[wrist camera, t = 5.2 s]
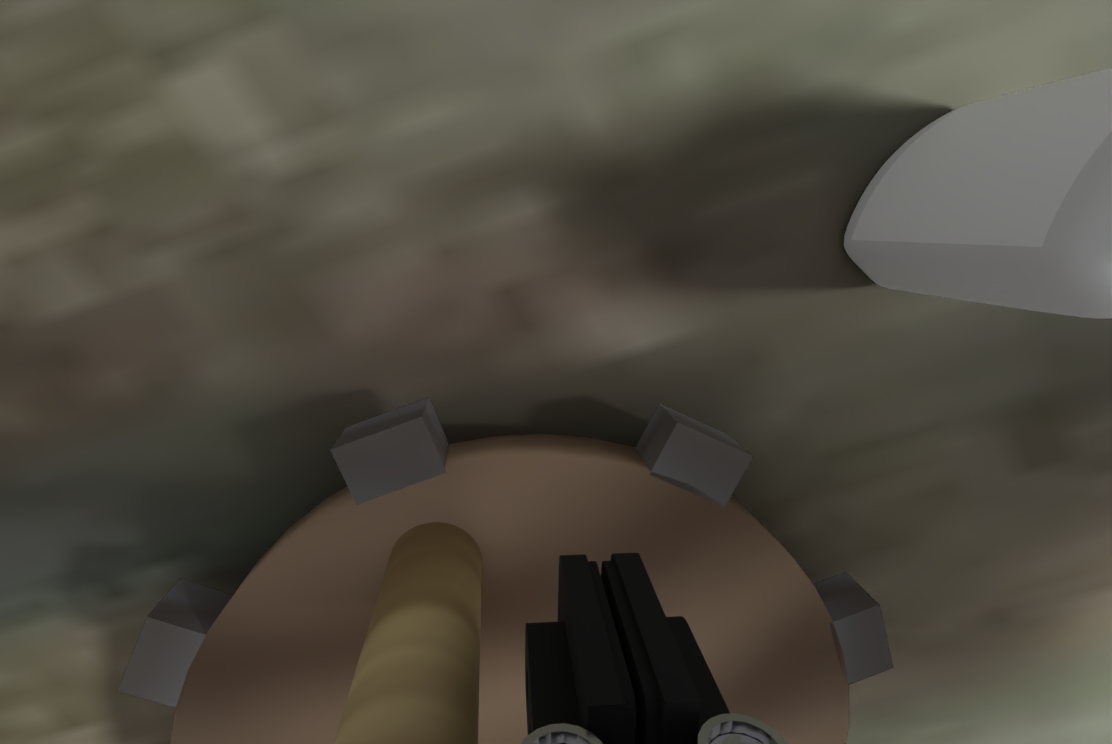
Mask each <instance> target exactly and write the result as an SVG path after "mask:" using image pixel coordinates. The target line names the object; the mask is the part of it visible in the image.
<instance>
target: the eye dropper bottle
mask: <svg viewBox="0 0 1112 744" xmlns="http://www.w3.org/2000/svg"><path fill="white" fill-rule="evenodd" d="M844 248H845V250H846V252H847V254H848V256H849V257H850V258H851V259H852V260H853V261H854V262H855V264H856V265H857V266H858V267H859V268H860V269H861V270H862V271H863V272H864V273H865V274H866V275H867V276H868V277H869V278H870V279H872V280H873V281H874V282H875V283H876V284H877V285H880V286H882V287H884V288H887V289H893V290H899V291H906V292H912V293H918V294H925V295H931V296H938V297H944V298H951V299H957V300H964V301H970V302H977V303H984V304H990V305H997V306H1004V307H1010V308H1017V309H1024V310H1031V311H1037V312H1044V313H1052V314H1060V315H1068V316H1076V317H1084V318H1101V319H1108V318H1112V68H1109V69H1105V70H1101V71H1097V72H1093V73H1089V74H1085V75H1081V76H1077V77H1073V78H1069V79H1065V80H1061V81H1057V82H1053V83H1049V84H1045V85H1041V86H1037V87H1033V88H1030V89H1026V90H1022V91H1018V92H1014V93H1010V94H1006V95H1002V96H998V97H994V98H990V99H986V100H982V101H979V102H975V103H971V104H967V105H964V106H962V107H960V108H957V109H955V110H953V111H951V112H949V113H947V114H945V115H943V116H942V117H940V118H938V119H937V120H935V121H933V122H932V123H930V124H929V125H927V126H926V127H924V128H923V129H921V130H920V131H919V132H917V133H916V134H915V135H913V136H912V137H911V138H910V139H908V140H907V141H906V142H905V143H904V144H903V145H902V146H901V147H900V148H899V149H898V150H897V151H895V152H894V153H893V155H892V156H891V157H890V158H889V159H888V160H887V161H886V162H885V163H884V165H883V166H882V167H881V168H880V169H879V171H878V172H877V173H876V175H875V176H874V177H873V179H872V180H871V182H870V183H869V185H868V186H867V188H866V189H865V191H864V193H863V194H862V196H861V198H860V200H859V202H858V204H857V206H856V208H855V210H854V212H853V214H852V216H851V219H850V221H849V223H848V226H847V229H846V232H845V235H844Z"/></svg>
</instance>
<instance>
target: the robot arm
mask: <svg viewBox="0 0 1112 744" xmlns="http://www.w3.org/2000/svg"><path fill="white" fill-rule="evenodd" d="M525 687H526V711H527V730H528V736H526V738H525V739H524V740H523V742H522V743H521V744H788V743H787V742H786V741H785V740H784V739H783V737H782V736H781V735H780V734H779V733H778V732H777V731H776V730H774V729H773V728H772V727H770V726H769V725H767V724H766V723H764V722H762V721H760V720H758V719H755V718H753V717H751V716H747V715H742V714H737V713H730V712H729V709H728V707H727V705H726V703H725V701H724V699H723V697H722V695H721V693H720V690H719V688H718V686H717V684H716V682H715V680H714V678H713V676H712V673H711V671H710V669H709V667H708V665H707V663H706V661H705V659H704V657H703V654H702V652H701V650H700V648H699V646H698V644H697V642H696V640H695V637H694V635H693V633H692V631H691V629H690V627H689V625H688V623H687V621H686V620H685V618H684V617H682V616H675V617H666V616H665V613H664V611H663V609H662V606H661V604H660V602H659V599H658V597H657V595H656V592H655V590H654V588H653V585H652V583H651V580H650V578H649V576H648V573H647V571H646V569H645V566H644V564H643V562H642V559H641V557H640V555H639V553H612V555H611V559H610V561H602V566H601V575H600V572H599V568H598V565H597V562H596V561H588V559H587V556H586V555H585V554H581V555H560V557H559V580H558V622H538V623H526V627H525Z"/></svg>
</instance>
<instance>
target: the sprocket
mask: <svg viewBox="0 0 1112 744" xmlns="http://www.w3.org/2000/svg"><path fill="white" fill-rule="evenodd" d="M330 451H331V453H332V455H333V457H334V459H335V462H336V464H337V466H338V468H339V470H340V472H341V474H342V476H343V478H344V480H345V482H346V484H347V486H346V487H344V488H342V489H341V490H339V491H337V492H336V493H334V494H332V495H331V496H329V497H327V498H326V499H324V500H323V501H322V502H320V503H319V504H318V505H317V506H315V507H314V508H313V509H312V510H310V511H309V512H308V513H307V514H305V515H304V516H303V517H301V518H300V519H299V520H298V521H296V522H295V523H294V524H293V525H291V526H290V527H289V528H288V529H287V530H286V531H285V532H284V533H283V534H282V535H281V536H280V537H279V538H278V539H277V541H276V542H275V543H274V544H273V545H272V546H271V547H270V548H269V549H268V550H267V551H266V552H265V553H264V554H263V555H262V556H261V557H260V558H259V560H258V561H257V562H256V564H255V565H254V567H253V568H252V569H251V571H250V572H249V573H248V575H247V576H246V578H245V579H244V580H243V582H242V583H241V585H240V586H239V587H238V589H237V590H236V592H235V593H234V594H233V595H231V594H228V593H225V592H222V591H219V590H216V589H213V588H210V587H207V586H204V585H200V584H197V583H194V582H191V581H188V580H185V579H182V578H180V579H179V581H178V582H177V583H176V584H175V585H174V586H173V587H172V589H171V590H170V591H169V592H168V593H167V594H166V595H165V597H164V598H163V599H162V600H161V601H160V602H159V603H158V605H157V606H156V607H155V608H154V609H153V610H152V611H151V613H150V614H149V615H148V616H147V617H146V620H145V623H144V625H143V628H142V630H141V633H140V635H139V638H138V640H137V643H136V646H135V648H134V651H133V653H132V656H131V658H130V661H129V663H128V666H127V669H126V671H125V674H124V676H123V679H122V681H121V684H120V686H119V689H118V692H121V693H125V694H128V695H132V696H136V697H139V698H143V699H146V700H150V701H153V702H157V703H161V704H164V705H168V706H171V707H175V708H176V709H175V713H174V720H173V727H172V733H171V740H170V744H521V743H522V742H523V740H524V739H525V738H526V736H528V730H527V711H526V687H525V627H526V623H538V622H558V580H559V557H560V555H581V554H585V555H586V556H587V559H588V561H596V562H597V565H598V568H599V572H600V575H601V566H602V561H610V559H611V555H612V553H639V555H640V557H641V559H642V562H643V564H644V566H645V569H646V571H647V573H648V576H649V578H650V580H651V583H652V585H653V588H654V590H655V592H656V595H657V597H658V599H659V602H660V604H661V606H662V609H663V611H664V613H665V616H666V617H675V616H682V617H684V618H685V620H686V621H687V623H688V625H689V627H690V629H691V631H692V633H693V635H694V637H695V640H696V642H697V644H698V646H699V648H700V650H701V652H702V654H703V657H704V659H705V661H706V663H707V665H708V667H709V669H710V671H711V673H712V676H713V678H714V680H715V682H716V684H717V686H718V688H719V690H720V693H721V695H722V697H723V699H724V701H725V703H726V705H727V707H728V709H729V712H730V713H737V714H742V715H747V716H751V717H753V718H755V719H758V720H760V721H762V722H764V723H766V724H767V725H769V726H770V727H772V728H773V729H774V730H776V731H777V732H778V733H779V734H780V735H781V736H782V737H783V739H784V740H785V741H786V742H787V743H788V744H846V742H847V735H848V728H849V684H852V683H854V682H857V681H859V680H862V679H865V678H867V677H870V676H873V675H875V674H878V673H880V672H883V671H886V670H888V669H891V668H893V664H892V659H891V655H890V650H889V646H888V641H887V637H886V632H885V628H884V623H883V619H882V614H881V610H880V605H879V604H878V603H877V602H876V601H875V600H874V599H873V598H872V597H871V596H870V595H869V594H868V593H867V592H866V591H865V590H864V589H863V588H862V587H861V586H860V585H859V584H858V583H857V582H855V581H854V580H853V579H852V578H851V577H850V576H849V575H848V574H847V573H846V572H845V573H842V574H839V575H837V576H834V577H831V578H829V579H826V580H823V581H821V582H818V583H815V584H812V582H811V581H810V580H809V578H808V577H807V576H806V574H805V573H804V572H803V570H802V569H801V568H800V566H799V565H798V564H797V562H796V561H795V560H794V558H793V557H792V556H791V555H790V554H789V553H788V552H787V550H786V549H785V548H784V547H783V546H782V545H781V544H780V543H779V542H778V541H777V540H776V539H775V537H774V536H773V535H772V534H771V533H770V532H769V531H768V530H767V529H766V528H765V527H764V526H763V525H762V524H761V523H760V522H759V521H758V520H757V519H756V518H755V517H754V516H753V515H752V514H751V513H750V512H749V511H748V510H747V509H746V508H745V507H744V506H743V505H742V504H741V503H740V502H739V501H737V500H736V499H734V498H733V497H732V496H731V495H732V494H733V492H734V490H735V488H736V487H737V485H738V483H739V481H740V480H741V478H742V476H743V474H744V473H745V471H746V469H747V467H748V466H749V464H750V462H751V460H752V459H753V457H754V456H752V455H751V454H750V453H749V452H748V451H747V450H745V449H744V448H743V447H742V446H741V445H740V444H739V443H737V442H736V441H735V440H734V439H733V438H732V437H730V436H729V435H728V434H726V433H723V432H721V431H719V430H717V429H715V428H712V427H710V426H708V425H706V424H704V423H701V422H699V421H697V420H695V419H693V418H691V417H688V416H686V415H684V414H682V413H680V412H677V411H675V410H673V409H671V408H669V407H666V406H664V405H662V404H660V403H659V405H658V406H657V408H656V410H655V412H654V414H653V416H652V418H651V420H650V421H649V423H648V425H647V427H646V429H645V431H644V433H643V435H642V436H641V438H640V440H639V442H638V444H637V446H636V448H635V447H632V446H628V445H623V444H618V443H614V442H609V441H604V440H599V439H595V438H590V437H579V436H567V435H555V434H525V435H501V436H493V437H487V438H481V439H475V440H469V441H463V442H457V443H452V444H449V443H448V441H447V438H446V436H445V434H444V431H443V429H442V427H441V424H440V422H439V420H438V417H437V415H436V412H435V410H434V408H433V405H432V403H431V401H430V398H429V397H428V398H425V399H422V400H420V401H417V402H414V403H411V404H409V405H406V406H403V407H400V408H397V409H395V410H392V411H389V412H386V413H384V414H381V415H378V416H375V417H373V418H370V419H367V420H364V421H362V422H359V423H356V424H353V425H350V426H348V427H346V428H345V429H344V431H343V432H342V434H341V435H340V436H339V438H338V439H337V441H336V442H335V443H334V445H333V446H332V448H331V449H330Z"/></svg>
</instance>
